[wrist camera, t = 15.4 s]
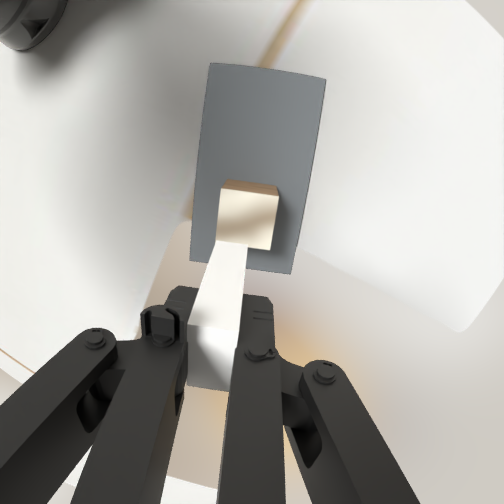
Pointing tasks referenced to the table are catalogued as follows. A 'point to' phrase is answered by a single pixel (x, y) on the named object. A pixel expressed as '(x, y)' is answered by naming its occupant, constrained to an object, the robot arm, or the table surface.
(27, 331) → the table surface
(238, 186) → the light wooden block
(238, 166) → the rubber mat
